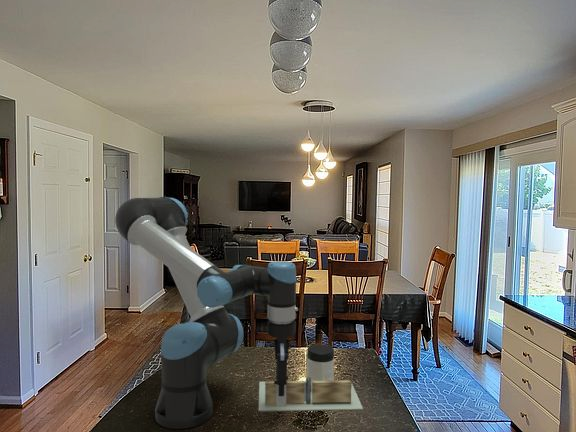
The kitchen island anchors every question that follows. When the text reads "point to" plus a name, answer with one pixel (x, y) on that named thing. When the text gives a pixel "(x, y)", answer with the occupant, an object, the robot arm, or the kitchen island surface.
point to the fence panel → (292, 392)
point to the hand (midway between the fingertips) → (280, 405)
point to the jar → (320, 363)
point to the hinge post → (308, 390)
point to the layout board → (312, 406)
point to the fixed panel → (331, 391)
